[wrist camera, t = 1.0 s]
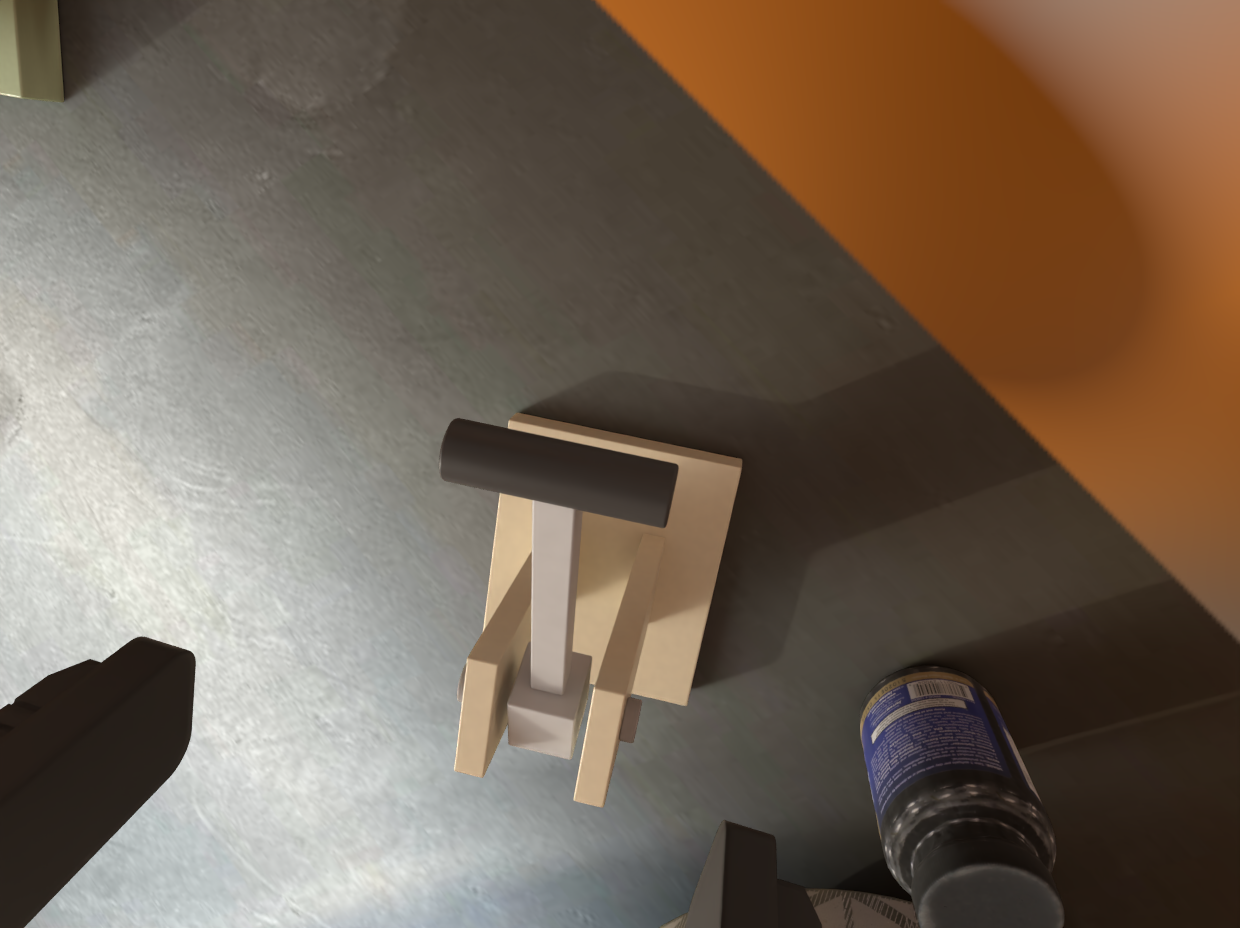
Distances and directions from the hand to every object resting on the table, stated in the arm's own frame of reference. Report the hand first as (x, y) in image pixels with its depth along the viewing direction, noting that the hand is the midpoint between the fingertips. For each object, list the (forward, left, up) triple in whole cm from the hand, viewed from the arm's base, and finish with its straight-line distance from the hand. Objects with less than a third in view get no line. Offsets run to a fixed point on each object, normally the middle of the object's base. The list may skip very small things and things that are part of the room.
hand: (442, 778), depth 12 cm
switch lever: (+2, +3, -12) cm, 13 cm away
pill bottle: (-9, +18, -25) cm, 32 cm away
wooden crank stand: (+4, +8, -25) cm, 26 cm away
